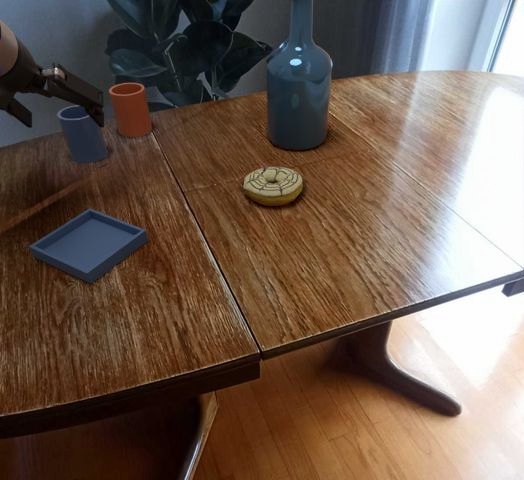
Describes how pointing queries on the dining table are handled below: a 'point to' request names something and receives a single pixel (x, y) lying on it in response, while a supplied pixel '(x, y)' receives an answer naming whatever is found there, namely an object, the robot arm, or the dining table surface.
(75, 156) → the blue cup
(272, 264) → the dining table surface
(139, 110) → the terracotta cup
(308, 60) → the wine bottle
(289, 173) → the decorated donut
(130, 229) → the blue tray
